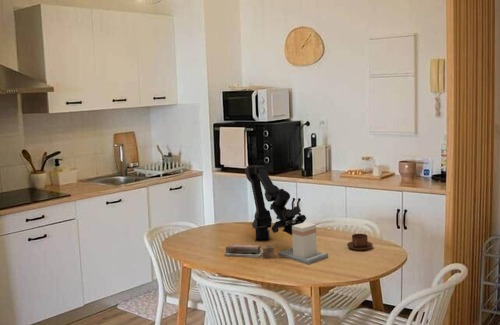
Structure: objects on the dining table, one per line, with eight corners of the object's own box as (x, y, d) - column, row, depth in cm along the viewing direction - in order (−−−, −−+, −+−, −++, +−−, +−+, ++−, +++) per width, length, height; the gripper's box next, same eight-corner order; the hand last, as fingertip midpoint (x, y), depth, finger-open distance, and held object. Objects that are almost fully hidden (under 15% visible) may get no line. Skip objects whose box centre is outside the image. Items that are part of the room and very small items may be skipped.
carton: (293, 255, 266) (291, 225, 264) (305, 250, 272) (304, 222, 269) (303, 258, 261) (302, 228, 259) (316, 253, 266) (315, 224, 264)
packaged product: (223, 247, 273) (230, 241, 282) (223, 257, 274) (230, 250, 283) (259, 249, 267) (265, 242, 277) (259, 259, 268) (265, 252, 278)
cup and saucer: (372, 252, 269) (372, 239, 268) (347, 251, 271) (346, 239, 270) (372, 244, 280) (372, 232, 279) (347, 244, 283) (347, 232, 282)
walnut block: (263, 258, 267) (262, 248, 266) (263, 255, 272) (262, 245, 271) (274, 258, 267) (273, 247, 266) (273, 254, 272) (273, 244, 271)
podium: (278, 255, 271) (277, 250, 271) (297, 248, 279) (297, 244, 279) (308, 264, 256) (308, 259, 255) (328, 257, 264) (328, 252, 264)
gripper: (274, 205, 264) (292, 232, 257) (303, 198, 275) (320, 224, 269) (264, 219, 271) (281, 246, 264) (292, 211, 283) (309, 237, 276)
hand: (298, 237), depth 268 cm, fingers closed
